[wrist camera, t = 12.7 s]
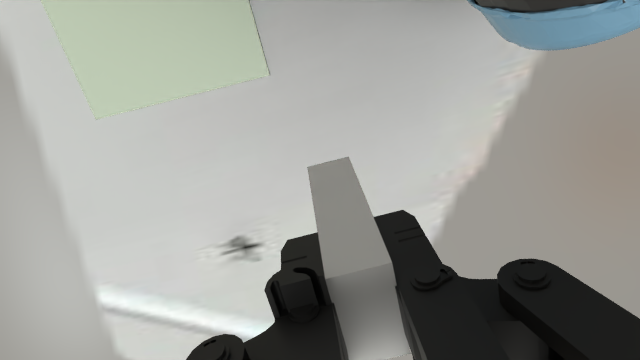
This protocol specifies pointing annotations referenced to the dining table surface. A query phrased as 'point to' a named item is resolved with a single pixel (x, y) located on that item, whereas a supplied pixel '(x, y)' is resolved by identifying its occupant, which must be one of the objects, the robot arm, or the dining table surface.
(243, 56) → the card
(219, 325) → the dining table surface
